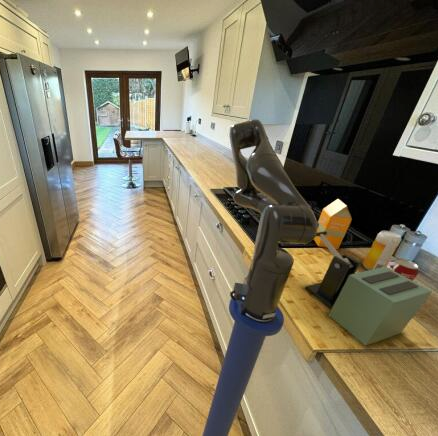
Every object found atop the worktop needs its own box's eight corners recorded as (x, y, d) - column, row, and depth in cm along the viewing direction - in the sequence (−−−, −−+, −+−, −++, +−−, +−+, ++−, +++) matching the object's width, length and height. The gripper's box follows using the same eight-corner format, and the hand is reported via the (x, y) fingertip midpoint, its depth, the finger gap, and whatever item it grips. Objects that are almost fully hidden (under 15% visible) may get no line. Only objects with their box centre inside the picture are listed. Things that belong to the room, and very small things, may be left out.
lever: (309, 235, 76) (315, 231, 74) (321, 233, 78) (326, 229, 76) (338, 271, 69) (345, 268, 67) (350, 269, 70) (357, 265, 68)
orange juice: (317, 246, 103) (335, 204, 94) (311, 236, 111) (327, 196, 102) (338, 249, 101) (358, 207, 92) (330, 239, 109) (348, 199, 100)
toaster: (328, 315, 69) (349, 274, 62) (361, 305, 72) (385, 265, 66) (365, 345, 60) (395, 301, 53) (401, 333, 64) (433, 290, 57)
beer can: (375, 264, 92) (394, 231, 86) (386, 274, 87) (407, 239, 80) (358, 262, 93) (375, 229, 87) (368, 271, 88) (387, 237, 81)
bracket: (304, 288, 78) (320, 251, 72) (322, 284, 81) (339, 248, 74) (334, 311, 70) (355, 272, 63) (353, 306, 72) (375, 267, 66)
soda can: (407, 299, 76) (428, 269, 70) (388, 299, 75) (407, 269, 70) (386, 284, 82) (404, 256, 76) (368, 285, 81) (385, 256, 76)
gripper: (259, 201, 89) (295, 220, 76) (289, 199, 93) (328, 216, 80) (255, 219, 93) (288, 240, 79) (283, 216, 97) (320, 235, 83)
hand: (308, 228), depth 79 cm, fingers open, 8 cm apart
